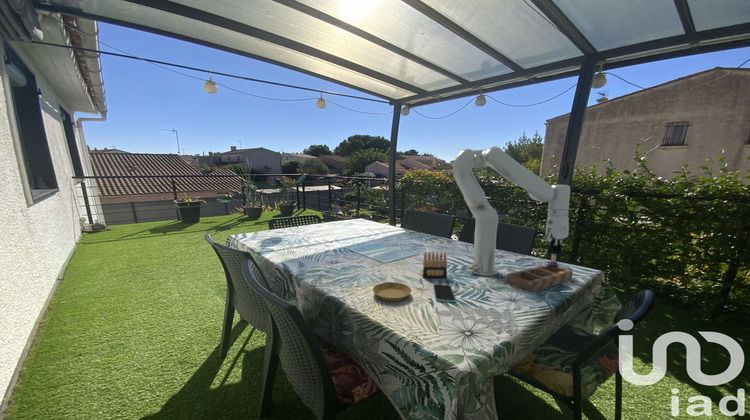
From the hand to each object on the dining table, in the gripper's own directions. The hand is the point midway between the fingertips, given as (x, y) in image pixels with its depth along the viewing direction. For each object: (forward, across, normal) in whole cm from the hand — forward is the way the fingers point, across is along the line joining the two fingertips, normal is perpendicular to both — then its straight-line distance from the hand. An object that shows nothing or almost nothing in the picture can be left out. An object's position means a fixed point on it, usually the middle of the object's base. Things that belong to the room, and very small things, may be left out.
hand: (554, 252), depth 122 cm
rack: (+12, -10, 0) cm, 15 cm away
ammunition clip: (+12, -48, +25) cm, 55 cm away
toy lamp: (+6, 0, 0) cm, 6 cm away
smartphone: (+12, -56, +10) cm, 58 cm away
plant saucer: (+12, -75, +18) cm, 78 cm away
